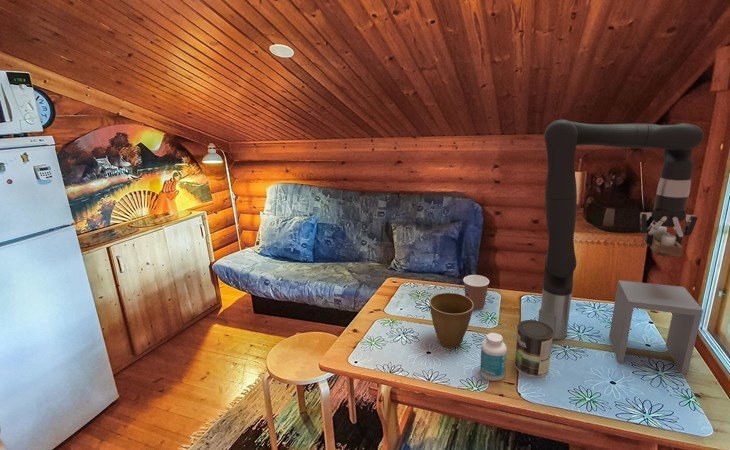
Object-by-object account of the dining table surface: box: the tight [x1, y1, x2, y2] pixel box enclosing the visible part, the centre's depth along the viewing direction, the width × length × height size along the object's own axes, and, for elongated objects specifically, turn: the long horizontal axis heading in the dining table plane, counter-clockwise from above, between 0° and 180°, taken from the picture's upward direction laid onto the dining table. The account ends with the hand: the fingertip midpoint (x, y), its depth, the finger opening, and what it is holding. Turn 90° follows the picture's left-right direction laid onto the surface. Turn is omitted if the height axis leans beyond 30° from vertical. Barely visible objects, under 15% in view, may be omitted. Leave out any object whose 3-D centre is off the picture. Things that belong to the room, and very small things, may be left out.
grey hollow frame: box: [608, 279, 704, 375], centre depth 123 cm, size 15×18×22 cm
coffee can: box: [514, 319, 554, 378], centre depth 121 cm, size 10×10×14 cm
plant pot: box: [429, 292, 474, 349], centre depth 135 cm, size 15×15×16 cm
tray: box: [643, 226, 684, 258], centre depth 118 cm, size 14×6×5 cm, turn 157°
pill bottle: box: [479, 332, 508, 382], centre depth 119 cm, size 8×7×14 cm
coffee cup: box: [462, 274, 490, 311], centre depth 159 cm, size 10×10×12 cm
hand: (661, 246), depth 119 cm, fingers closed on tray, 6 cm apart
